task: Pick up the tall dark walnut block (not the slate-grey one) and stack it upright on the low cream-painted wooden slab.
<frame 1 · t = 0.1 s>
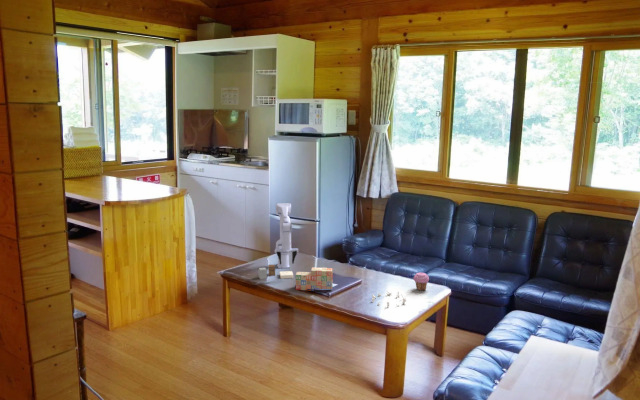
hand: (286, 263, 327), 10 cm above the table, fingers open, 7 cm apart
walnut block: (271, 274, 338), on the table
cream slab: (286, 277, 334), on the table
cupcake: (420, 289, 311), on the table
stack of blocks: (314, 289, 311), on the table
game piece set: (388, 301, 292), on the table
grey rectangular block: (262, 277, 331), on the table
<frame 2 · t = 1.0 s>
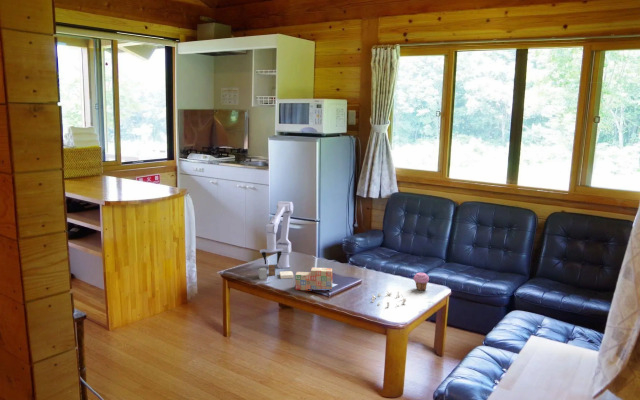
hand: (271, 263, 337), 7 cm above the table, fingers open, 7 cm apart
nothing on the table moved.
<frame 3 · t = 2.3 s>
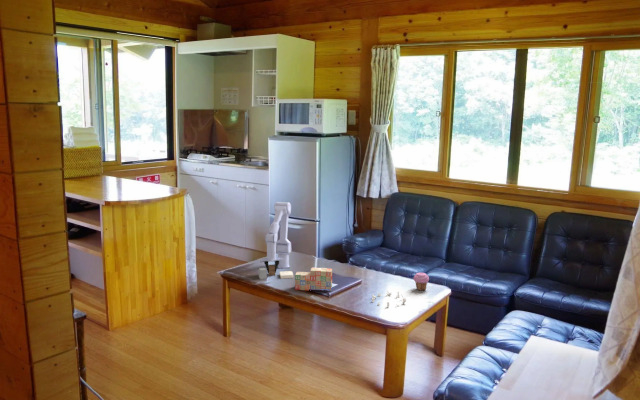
hand: (271, 272, 338), 1 cm above the table, fingers closed on walnut block, 4 cm apart
walnut block: (271, 274, 338), on the table, touching gripper
everything else where it was.
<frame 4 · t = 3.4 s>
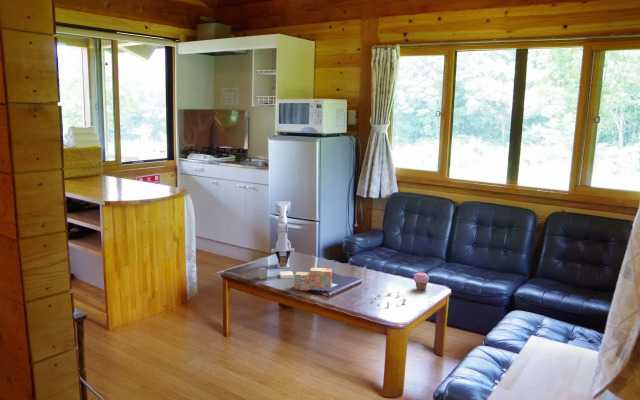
hand: (282, 263, 334), 8 cm above the table, fingers closed on walnut block, 4 cm apart
walnut block: (282, 265, 334), point 7 cm above the table, touching gripper
everything else where it was.
when the fingers open (5 cm above the table, at t = 4.5 s): walnut block drops 1 cm, point 2 cm above the table.
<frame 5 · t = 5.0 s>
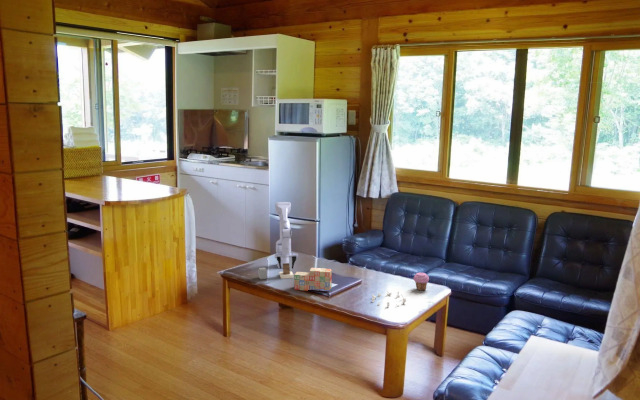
hand: (286, 268, 334), 5 cm above the table, fingers open, 7 cm apart
walnut block: (286, 273, 334), point 2 cm above the table
everything else where it was.
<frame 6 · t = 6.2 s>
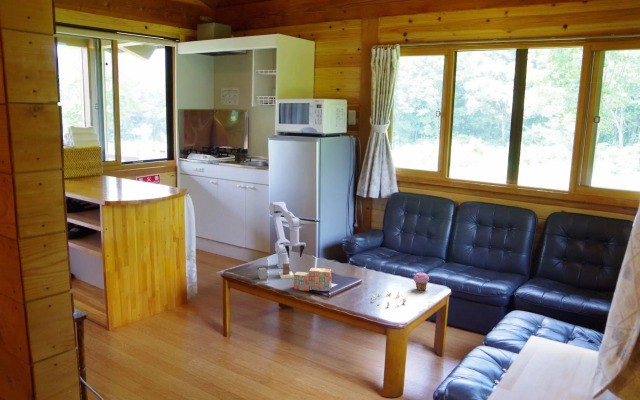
hand: (294, 257, 340), 10 cm above the table, fingers open, 7 cm apart
walnut block: (286, 273, 334), point 2 cm above the table, touching cream slab
cream slab: (286, 277, 335), on the table, touching walnut block
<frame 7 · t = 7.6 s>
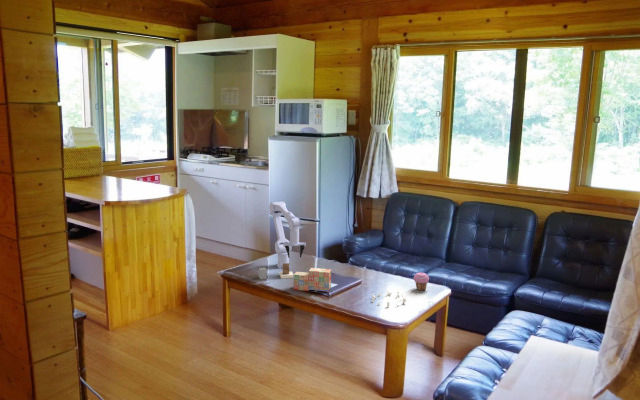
hand: (294, 257, 340), 10 cm above the table, fingers open, 7 cm apart
at the end: walnut block 0.3 cm off-centre on the cream slab, point 2.5 cm above the cream slab's base; walnut block tilted 0°; the gripper is holding nothing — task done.
